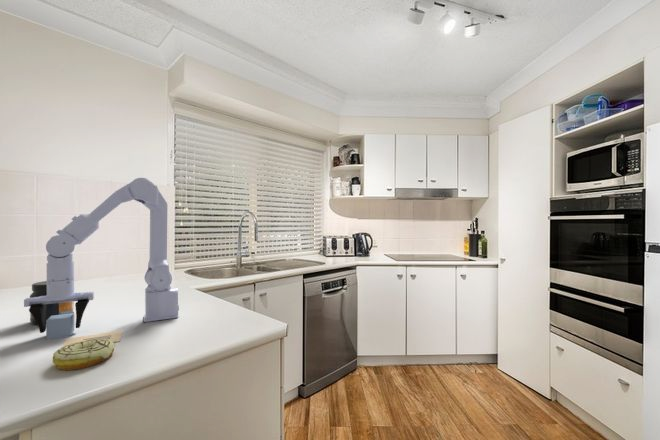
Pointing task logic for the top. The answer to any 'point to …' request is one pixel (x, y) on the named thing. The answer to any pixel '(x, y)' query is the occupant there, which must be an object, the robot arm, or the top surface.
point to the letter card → (96, 338)
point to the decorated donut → (83, 354)
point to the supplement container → (51, 309)
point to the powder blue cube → (60, 326)
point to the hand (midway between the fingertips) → (60, 329)
